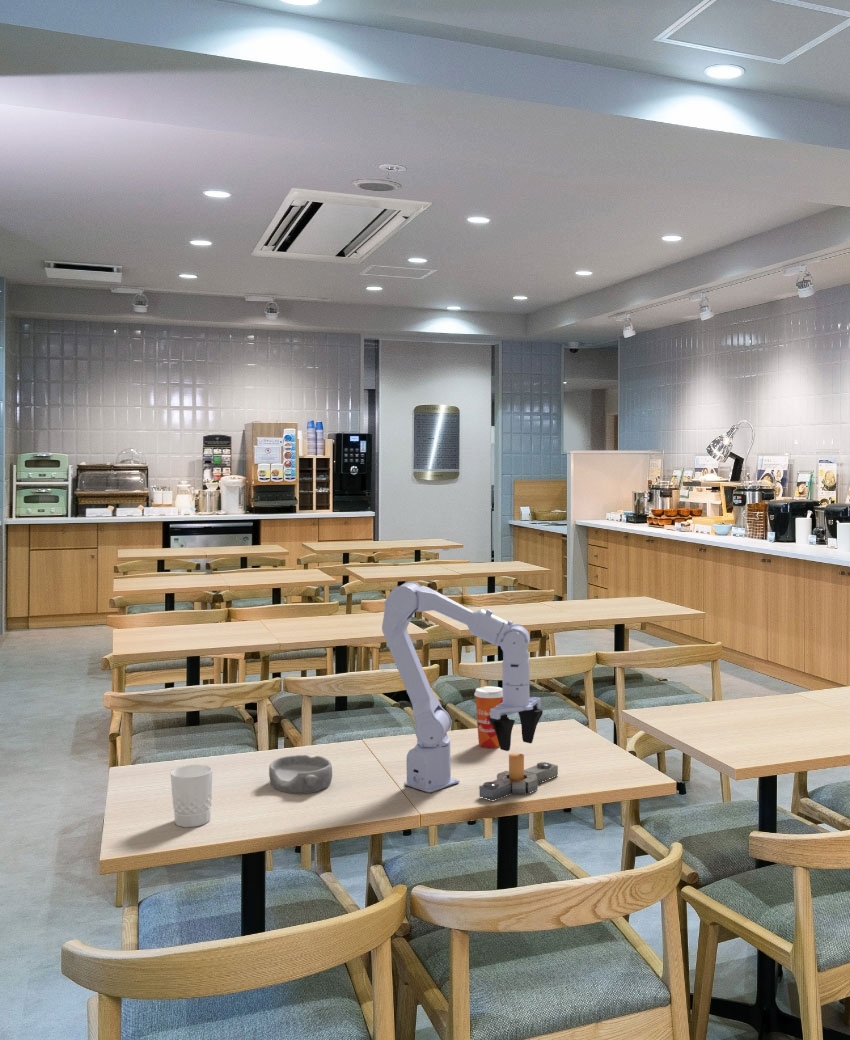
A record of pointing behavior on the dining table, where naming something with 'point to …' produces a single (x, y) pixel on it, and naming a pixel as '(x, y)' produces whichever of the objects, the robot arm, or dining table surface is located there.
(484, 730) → the paper cup
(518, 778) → the orange pin
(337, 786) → the dining table surface
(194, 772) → the white cup
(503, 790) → the left chain end
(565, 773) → the dining table surface
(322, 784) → the dish
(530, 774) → the right chain end
